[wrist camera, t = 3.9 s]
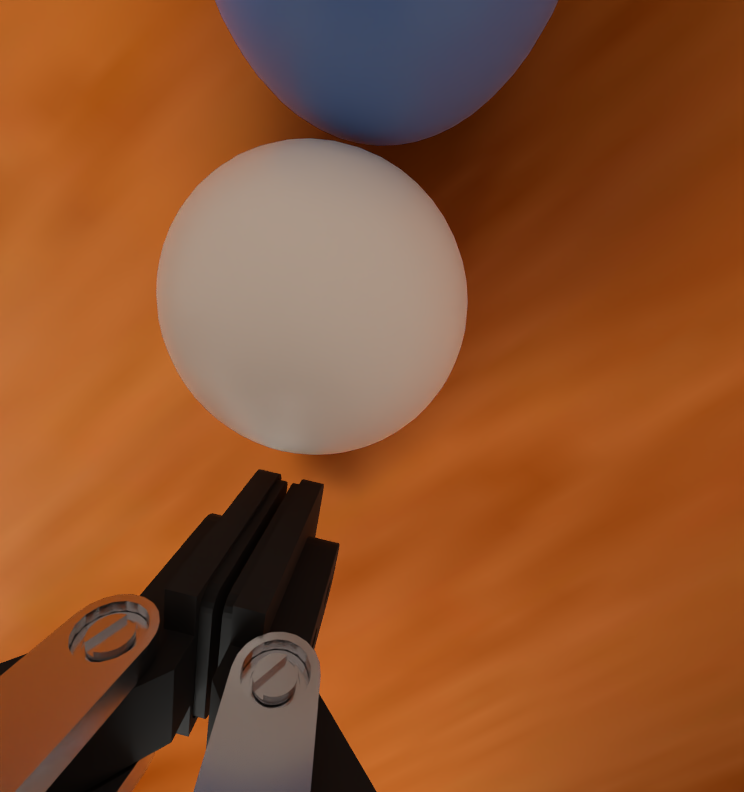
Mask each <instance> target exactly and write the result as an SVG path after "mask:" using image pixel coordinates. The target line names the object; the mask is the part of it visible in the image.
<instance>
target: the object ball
mask: <svg viewBox="0 0 744 792" xmlns="http://www.w3.org/2000/svg"><path fill="white" fill-rule="evenodd" d="M215 2H216V4H217V7H218V9H219V11H220V14H221V16H222V18H223V20H224V22H225V24H226V26H227V28H228V30H229V31H230V33H231V35H232V37H233V39H234V41H235V42H236V44H237V46H238V47H239V49H240V51H241V52H242V54H243V56H244V57H245V59H246V60H247V61H248V63H249V64H250V66H251V67H252V68H253V70H254V71H255V73H256V74H257V75H258V77H259V78H260V79H261V80H262V81H263V82H264V83H265V84H266V85H267V86H268V88H269V89H270V90H271V91H272V92H273V93H274V94H275V95H276V96H277V97H278V98H279V100H280V101H281V102H282V103H284V104H285V105H286V106H287V107H288V108H290V109H291V110H292V111H293V112H294V113H295V114H297V115H298V116H299V117H301V118H303V119H304V120H306V121H307V122H309V123H311V124H312V125H314V126H315V127H317V128H319V129H320V130H322V131H324V132H327V133H329V134H331V135H333V136H336V137H338V138H340V139H344V140H348V141H351V142H355V143H359V144H367V145H375V146H386V145H401V144H406V143H412V142H417V141H420V140H423V139H426V138H429V137H432V136H435V135H437V134H439V133H441V132H444V131H446V130H448V129H450V128H452V127H454V126H455V125H457V124H458V123H460V122H462V121H463V120H465V119H466V118H468V117H469V116H471V115H472V114H473V113H475V112H476V111H477V110H478V109H479V108H480V107H482V106H483V105H484V104H485V103H486V102H488V101H489V100H490V99H491V98H492V97H493V96H494V95H495V94H496V93H497V92H498V91H499V90H500V89H501V88H502V86H503V85H504V84H505V83H506V82H507V81H508V80H509V79H510V78H511V77H512V76H513V75H514V73H515V72H516V70H517V69H518V68H519V66H520V65H521V64H522V62H523V61H524V60H525V58H526V57H527V56H528V54H529V53H530V51H531V49H532V48H533V46H534V45H535V43H536V41H537V40H538V38H539V36H540V34H541V33H542V31H543V29H544V28H545V26H546V24H547V22H548V21H549V19H550V17H551V16H552V13H553V11H554V9H555V7H556V5H557V2H558V0H215Z"/></svg>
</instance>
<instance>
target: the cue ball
mask: <svg viewBox="0 0 744 792" xmlns="http://www.w3.org/2000/svg"><path fill="white" fill-rule="evenodd" d="M156 294H157V307H158V318H159V323H160V328H161V332H162V336H163V339H164V342H165V345H166V348H167V351H168V353H169V355H170V357H171V359H172V361H173V364H174V366H175V368H176V370H177V372H178V374H179V375H180V377H181V378H182V380H183V382H184V383H185V385H186V386H187V388H188V389H189V390H190V392H191V393H192V394H193V395H194V397H195V398H196V399H197V400H198V401H199V402H200V403H201V404H202V406H203V407H204V408H205V409H206V410H207V411H209V412H210V413H211V414H212V415H213V416H214V417H215V418H216V419H218V420H219V421H220V422H222V423H223V424H224V425H226V426H227V427H229V428H230V429H232V430H233V431H235V432H237V433H238V434H240V435H242V436H244V437H246V438H248V439H250V440H252V441H254V442H256V443H259V444H261V445H264V446H267V447H270V448H273V449H277V450H280V451H285V452H291V453H298V454H312V455H322V454H336V453H343V452H348V451H352V450H356V449H359V448H363V447H366V446H369V445H371V444H374V443H376V442H379V441H381V440H383V439H385V438H387V437H389V436H390V435H392V434H394V433H396V432H397V431H399V430H400V429H402V428H403V427H404V426H406V425H407V424H408V423H410V422H411V421H412V420H414V419H415V418H416V417H417V416H418V415H419V414H420V413H421V412H422V411H423V410H424V409H425V408H426V407H427V406H428V405H429V404H430V403H431V401H432V400H433V399H434V398H435V396H436V395H437V394H438V392H439V391H440V390H441V388H442V387H443V385H444V384H445V382H446V380H447V378H448V376H449V375H450V373H451V371H452V369H453V366H454V364H455V362H456V359H457V356H458V354H459V351H460V349H461V345H462V341H463V337H464V332H465V327H466V316H467V304H468V299H467V281H466V276H465V271H464V266H463V261H462V258H461V255H460V252H459V249H458V246H457V243H456V240H455V238H454V236H453V234H452V232H451V230H450V228H449V226H448V224H447V222H446V220H445V218H444V216H443V215H442V213H441V212H440V210H439V209H438V207H437V206H436V205H435V203H434V202H433V200H432V199H431V198H430V197H429V196H428V195H427V193H426V192H425V191H424V190H423V189H422V188H421V187H420V186H419V185H418V183H416V182H415V181H414V180H413V179H412V178H410V177H409V176H408V175H407V174H406V173H404V172H403V171H402V170H401V169H400V168H398V167H396V166H395V165H393V164H392V163H390V162H388V161H387V160H385V159H384V158H382V157H380V156H378V155H375V154H373V153H371V152H369V151H366V150H364V149H362V148H359V147H356V146H352V145H348V144H344V143H341V142H337V141H332V140H323V139H314V138H305V139H288V140H283V141H279V142H274V143H270V144H266V145H262V146H258V147H256V148H253V149H251V150H248V151H246V152H244V153H241V154H239V155H237V156H236V157H234V158H232V159H231V160H229V161H228V162H226V163H224V164H223V165H221V166H220V167H218V168H217V169H216V170H214V171H213V172H212V173H211V174H210V175H209V176H208V177H206V178H205V179H204V180H203V181H202V182H201V183H200V184H199V185H198V186H197V187H196V188H195V189H194V191H193V192H192V193H191V194H190V196H189V197H188V198H187V199H186V201H185V202H184V204H183V205H182V207H181V208H180V210H179V211H178V213H177V215H176V217H175V219H174V221H173V222H172V224H171V226H170V228H169V231H168V234H167V236H166V239H165V242H164V245H163V249H162V252H161V256H160V261H159V267H158V272H157V288H156Z"/></svg>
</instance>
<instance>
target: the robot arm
mask: <svg viewBox="0 0 744 792" xmlns="http://www.w3.org/2000/svg"><path fill="white" fill-rule="evenodd" d="M323 488H324V484H321V483H317V482H312V481H308V480H304V479H303V480H302V481H301V482H300V484H295V483H293V484H292V485H291V487H290V488H289V490H288V492H287V482H286V481H282V480H281V474H278V473H273V472H269V471H265V470H258V471H257V472H256V473H255V474H254V476H253V477H252V478H251V479H250V481H249V482H248V483H247V485H246V486H245V487H244V488H243V490H242V491H241V492H240V494H239V495H238V496H237V497H236V499H235V500H234V501H233V502H232V504H231V505H230V506H229V508H228V509H227V510H226V511H225V513H224V514H223V515H222V516H221V515H217V514H213V513H212V514H209V515H208V516H207V517H206V518H205V519H204V520H203V521H202V522H201V524H200V525H199V526H198V527H197V528H196V530H195V531H194V532H193V533H192V534H191V535H190V537H189V538H188V539H187V540H186V541H185V543H184V544H183V545H182V546H181V547H180V549H179V550H178V551H177V552H176V553H175V554H174V556H173V557H172V558H171V559H170V560H169V562H168V563H167V564H166V565H165V566H164V568H163V569H162V570H161V571H160V572H159V573H158V575H157V576H156V577H155V578H154V579H153V581H152V582H151V583H150V584H149V585H148V587H147V588H146V589H145V590H144V591H143V592H142V594H141V595H140V596H138V595H134V594H124V595H115V596H111V597H106V598H103V599H101V600H98V601H96V602H94V603H91V604H89V605H88V606H86V607H85V608H83V609H82V610H80V611H79V612H77V613H76V614H75V615H73V616H72V617H71V618H70V619H68V620H67V621H66V622H65V623H64V624H62V625H61V626H60V627H59V628H58V629H56V630H55V631H54V632H53V633H52V634H50V635H49V636H48V637H47V638H46V639H44V640H43V641H42V642H41V643H40V644H38V645H37V646H36V647H35V648H33V649H32V650H31V651H30V652H29V653H27V654H25V655H22V656H19V657H17V658H14V659H11V660H8V661H6V662H3V663H0V792H132V791H133V789H134V788H135V786H136V785H137V783H138V782H139V780H140V779H141V777H142V776H143V774H144V773H145V771H146V770H147V768H148V766H149V764H150V763H151V761H152V759H153V757H154V754H155V751H157V750H158V749H160V748H162V747H164V746H165V745H167V744H169V743H171V742H172V740H173V738H174V736H175V734H176V733H177V734H181V735H185V736H189V734H190V732H191V730H192V728H193V726H194V724H195V722H196V720H197V718H198V717H200V718H204V719H206V718H207V717H208V715H209V722H208V734H207V746H206V752H205V756H204V759H203V762H202V766H201V769H200V772H199V775H198V779H197V782H196V785H195V789H194V792H376V790H375V788H374V787H373V785H372V783H371V782H370V780H369V778H368V776H367V775H366V773H365V771H364V770H363V768H362V766H361V764H360V763H359V761H358V759H357V758H356V756H355V754H354V753H353V751H352V749H351V747H350V746H349V744H348V742H347V741H346V739H345V737H344V735H343V734H342V732H341V730H340V729H339V727H338V725H337V723H336V722H335V720H334V718H333V717H332V715H331V713H330V712H329V710H328V708H327V706H326V705H325V703H324V701H323V700H322V698H321V696H320V694H319V687H320V662H319V660H318V658H317V655H316V653H315V650H314V648H315V644H316V641H317V637H318V633H319V630H320V626H321V622H322V619H323V615H324V611H325V608H326V604H327V600H328V596H329V592H330V588H331V584H332V579H333V575H334V570H335V566H336V561H337V556H338V550H339V543H335V542H331V541H327V540H322V539H318V538H315V535H316V529H317V523H318V517H319V512H320V506H321V500H322V495H323ZM286 492H287V494H286Z"/></svg>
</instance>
